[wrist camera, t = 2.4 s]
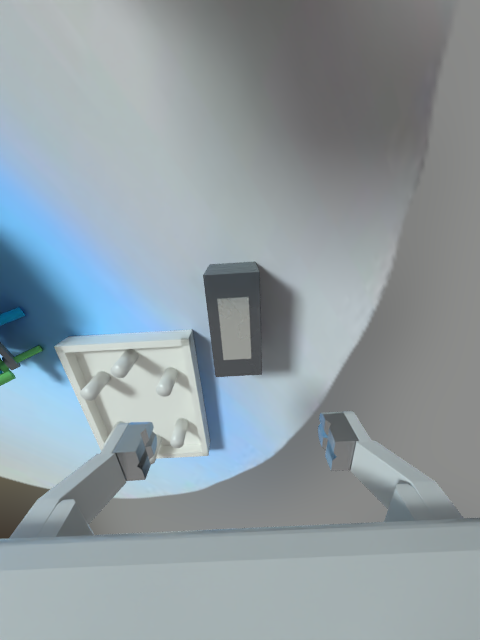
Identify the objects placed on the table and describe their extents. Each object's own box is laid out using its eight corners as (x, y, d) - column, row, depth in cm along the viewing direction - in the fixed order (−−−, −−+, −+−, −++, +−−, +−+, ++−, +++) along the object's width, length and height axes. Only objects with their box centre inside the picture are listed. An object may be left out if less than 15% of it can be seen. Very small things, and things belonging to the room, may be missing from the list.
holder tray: (68, 336, 25) (40, 356, 22) (192, 329, 25) (184, 347, 22) (113, 446, 33) (98, 474, 29) (210, 441, 32) (206, 469, 29)
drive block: (210, 264, 23) (202, 275, 18) (254, 261, 22) (259, 272, 18) (219, 350, 27) (215, 378, 22) (257, 347, 27) (261, 375, 22)
